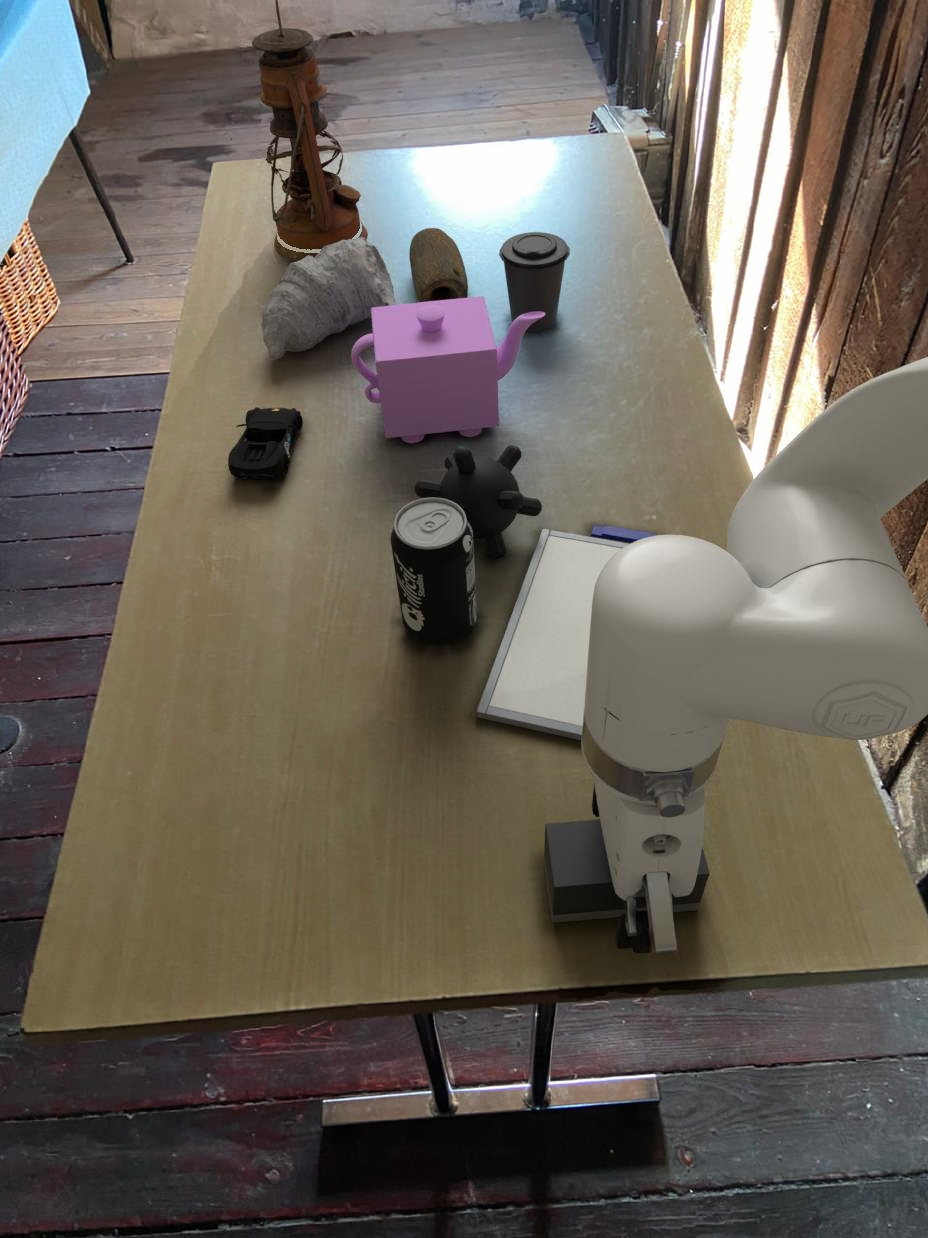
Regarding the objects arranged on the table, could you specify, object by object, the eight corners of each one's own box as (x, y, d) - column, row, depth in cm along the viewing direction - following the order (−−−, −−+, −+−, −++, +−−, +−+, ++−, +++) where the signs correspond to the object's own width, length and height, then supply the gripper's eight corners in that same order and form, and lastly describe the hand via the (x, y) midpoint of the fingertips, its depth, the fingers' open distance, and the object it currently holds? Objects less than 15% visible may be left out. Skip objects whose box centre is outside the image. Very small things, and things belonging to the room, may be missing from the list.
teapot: (363, 452, 98) (346, 348, 89) (359, 396, 105) (343, 293, 96) (551, 432, 99) (554, 326, 90) (535, 377, 106) (537, 273, 96)
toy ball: (545, 566, 82) (411, 544, 80) (520, 564, 93) (400, 545, 91) (565, 445, 82) (429, 421, 80) (537, 457, 92) (417, 436, 90)
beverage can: (387, 624, 82) (371, 524, 73) (439, 583, 85) (429, 482, 76) (441, 662, 79) (430, 563, 70) (493, 618, 82) (489, 517, 73)
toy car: (300, 412, 104) (293, 379, 101) (317, 479, 96) (311, 446, 93) (223, 427, 103) (214, 395, 99) (235, 496, 95) (225, 464, 92)
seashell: (269, 376, 109) (250, 297, 101) (266, 310, 118) (249, 233, 111) (406, 358, 110) (398, 278, 102) (392, 294, 119) (384, 217, 112)
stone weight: (479, 323, 114) (477, 271, 109) (422, 331, 113) (418, 280, 108) (455, 263, 124) (452, 213, 119) (403, 271, 123) (398, 221, 118)
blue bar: (643, 542, 87) (643, 545, 88) (646, 534, 88) (645, 536, 88) (591, 533, 88) (590, 536, 89) (593, 525, 89) (593, 527, 89)
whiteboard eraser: (682, 849, 67) (693, 810, 63) (697, 910, 64) (709, 874, 60) (543, 861, 67) (545, 823, 63) (552, 923, 64) (554, 887, 60)
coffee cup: (518, 346, 110) (518, 266, 103) (489, 313, 115) (487, 235, 108) (579, 328, 112) (583, 248, 105) (548, 296, 117) (549, 218, 110)
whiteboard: (712, 564, 85) (714, 557, 85) (676, 762, 72) (677, 756, 71) (542, 534, 89) (542, 527, 88) (476, 717, 75) (476, 711, 75)
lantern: (380, 258, 126) (348, -1, 103) (284, 276, 124) (231, 17, 101) (353, 204, 137) (320, -40, 114) (265, 220, 135) (213, -26, 112)
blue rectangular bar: (656, 536, 88) (657, 534, 88) (654, 545, 87) (655, 542, 87) (604, 527, 89) (604, 524, 89) (601, 535, 88) (601, 533, 88)
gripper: (763, 872, 46) (711, 997, 58) (684, 609, 57) (655, 762, 70) (610, 886, 46) (592, 1007, 58) (561, 620, 57) (555, 770, 70)
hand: (626, 873), depth 64 cm, fingers open, 9 cm apart
